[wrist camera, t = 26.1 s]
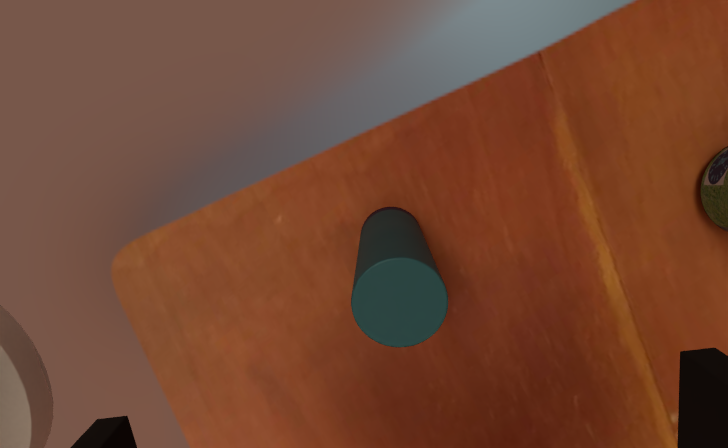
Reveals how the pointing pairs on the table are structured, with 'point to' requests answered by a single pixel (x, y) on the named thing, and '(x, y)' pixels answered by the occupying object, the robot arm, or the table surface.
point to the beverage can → (716, 190)
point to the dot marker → (397, 281)
